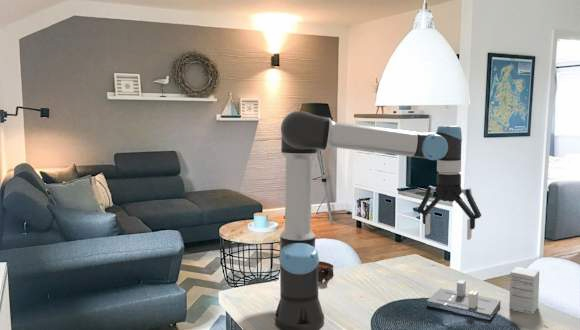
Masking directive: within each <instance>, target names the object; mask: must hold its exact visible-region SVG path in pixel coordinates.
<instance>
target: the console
mask: <svg viewBox="0 0 580 330" xmlns="http://www.w3.org/2000/svg"><path fill="white" fill-rule="evenodd" d="M468 300H469V293H465V295H464V296H463V297H461V296H457V290H450V289H446V288H442V287H441V288H439V289H438V290H437V291H435V293H434V294H433V295H431V296H430V297H429V298H428V299H427V300H426V303H427V302H432V303H437V304H441V305H445V306H448V307H452V308H455V309H460V310H465V311H469V312H473V313H476V314H479V315H482V316H486V317H489V318H491V316H492V315H493V314H494V313H495V314H496V313H497V312H498V310H499V309H500V307H501V301H502V300H501V299H497V298H496V299H495V298H491V297H486V296H480V295H478V305H477V307H476V308H475V309H474V308H469V307H468Z"/></svg>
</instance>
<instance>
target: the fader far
mask: <svg viewBox="0 0 580 330" xmlns="http://www.w3.org/2000/svg"><path fill="white" fill-rule="evenodd" d="M466 284H467V280H462V279H459V280H458V281H456V291H457V296H461V297H463V296H464V295H465V293H466V292H467V291H466V290H467V289H466V288H467V285H466Z"/></svg>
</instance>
